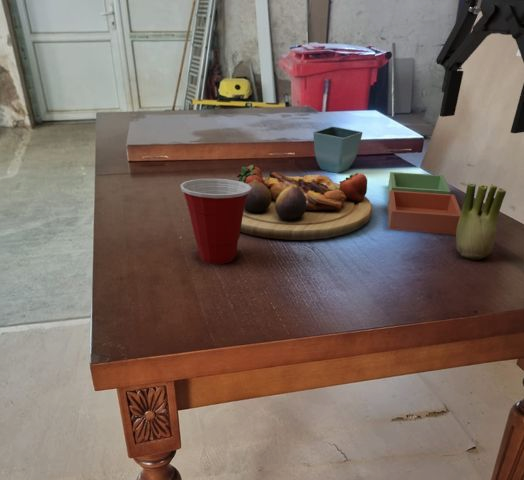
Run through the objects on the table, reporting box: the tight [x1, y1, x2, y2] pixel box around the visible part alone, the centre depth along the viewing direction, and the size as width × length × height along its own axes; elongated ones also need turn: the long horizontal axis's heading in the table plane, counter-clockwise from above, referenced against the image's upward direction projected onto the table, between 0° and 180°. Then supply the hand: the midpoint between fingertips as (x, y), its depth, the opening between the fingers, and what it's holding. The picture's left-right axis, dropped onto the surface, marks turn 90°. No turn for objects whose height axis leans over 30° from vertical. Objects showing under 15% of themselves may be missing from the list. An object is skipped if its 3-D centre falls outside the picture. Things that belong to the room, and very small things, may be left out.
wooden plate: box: [236, 163, 374, 241], centre depth 102 cm, size 32×32×8 cm
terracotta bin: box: [386, 190, 462, 236], centre depth 101 cm, size 13×13×4 cm
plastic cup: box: [179, 178, 252, 265], centre depth 83 cm, size 11×11×12 cm
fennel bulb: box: [455, 183, 507, 261], centre depth 85 cm, size 6×5×12 cm
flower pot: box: [312, 126, 363, 174], centre depth 127 cm, size 9×9×9 cm
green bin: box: [387, 171, 451, 195], centre depth 112 cm, size 12×12×4 cm
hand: (480, 123), depth 82 cm, fingers open, 13 cm apart
